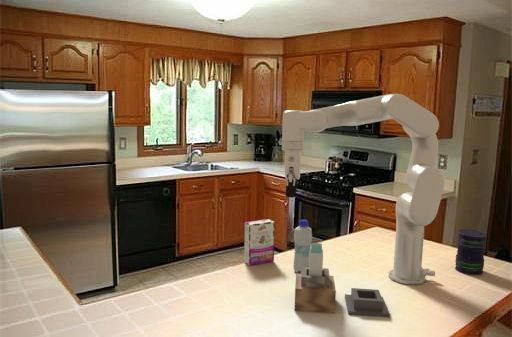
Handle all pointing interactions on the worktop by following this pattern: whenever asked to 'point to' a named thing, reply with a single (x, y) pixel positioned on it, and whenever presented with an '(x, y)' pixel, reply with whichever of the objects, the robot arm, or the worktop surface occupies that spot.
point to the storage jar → (470, 252)
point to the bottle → (302, 245)
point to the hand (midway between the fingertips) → (291, 194)
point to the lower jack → (366, 303)
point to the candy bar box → (259, 242)
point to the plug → (316, 259)
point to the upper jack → (315, 292)
